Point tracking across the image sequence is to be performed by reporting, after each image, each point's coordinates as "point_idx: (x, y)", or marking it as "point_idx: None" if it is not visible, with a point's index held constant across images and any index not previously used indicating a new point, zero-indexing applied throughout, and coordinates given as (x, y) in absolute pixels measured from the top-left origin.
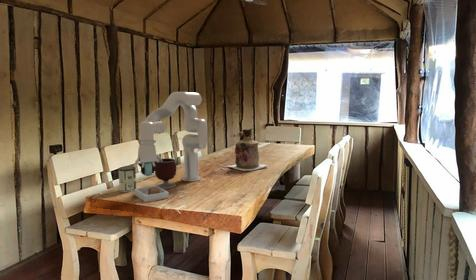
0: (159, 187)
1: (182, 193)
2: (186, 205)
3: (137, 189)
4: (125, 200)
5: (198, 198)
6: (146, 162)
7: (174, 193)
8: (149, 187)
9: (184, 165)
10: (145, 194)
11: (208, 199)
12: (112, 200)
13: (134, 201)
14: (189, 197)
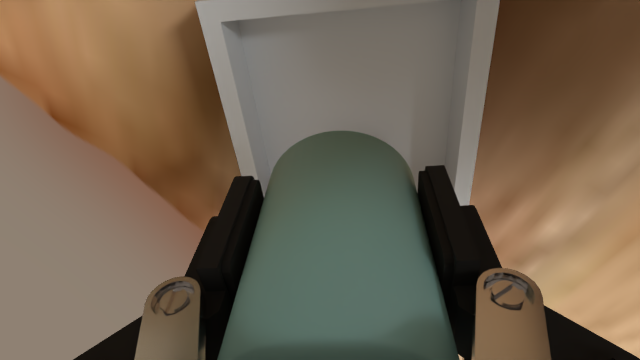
0: (477, 88)
1: (619, 172)
2: (459, 356)
3: (232, 19)
4: (137, 136)
5: (602, 307)
6: (327, 355)
7: (567, 140)
8: (385, 4)
9: None
10: (312, 81)
11: (628, 339)
12: (26, 86)
13: (205, 188)
14: (575, 272)
